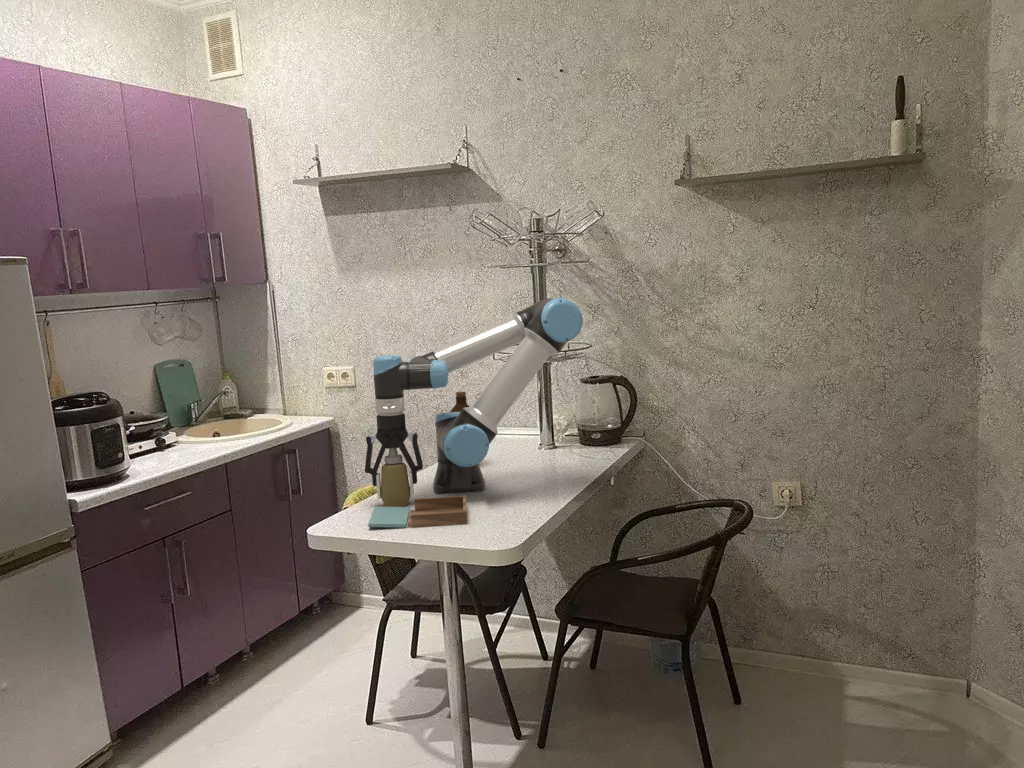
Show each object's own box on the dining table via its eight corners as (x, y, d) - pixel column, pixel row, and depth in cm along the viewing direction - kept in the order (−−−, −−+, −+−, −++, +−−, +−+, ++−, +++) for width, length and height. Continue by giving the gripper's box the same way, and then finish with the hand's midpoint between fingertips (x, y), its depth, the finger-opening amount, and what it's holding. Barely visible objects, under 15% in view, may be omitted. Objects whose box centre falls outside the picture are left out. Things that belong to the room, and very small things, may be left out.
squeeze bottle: (416, 504, 209) (412, 440, 207) (405, 513, 202) (401, 446, 199) (388, 503, 211) (384, 439, 209) (376, 512, 203) (372, 445, 201)
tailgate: (409, 510, 200) (374, 509, 200) (409, 507, 200) (374, 506, 199) (405, 527, 185) (368, 526, 184) (405, 524, 185) (368, 523, 184)
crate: (410, 514, 200) (410, 499, 200) (466, 510, 201) (465, 495, 201) (407, 531, 185) (406, 515, 185) (467, 527, 186) (466, 512, 186)
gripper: (349, 417, 199) (355, 502, 202) (429, 413, 200) (434, 497, 203) (352, 413, 206) (358, 495, 209) (430, 409, 208) (435, 490, 210)
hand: (395, 496), depth 206 cm, fingers closed on squeeze bottle, 8 cm apart
